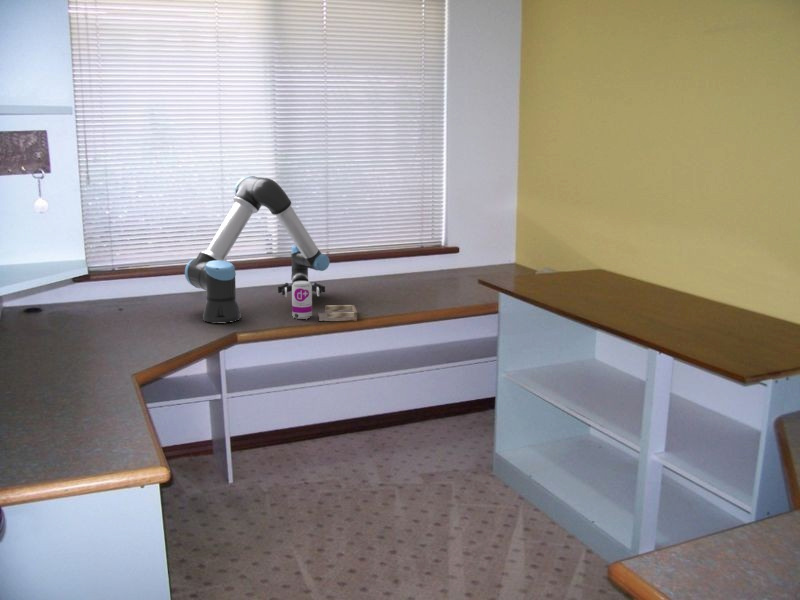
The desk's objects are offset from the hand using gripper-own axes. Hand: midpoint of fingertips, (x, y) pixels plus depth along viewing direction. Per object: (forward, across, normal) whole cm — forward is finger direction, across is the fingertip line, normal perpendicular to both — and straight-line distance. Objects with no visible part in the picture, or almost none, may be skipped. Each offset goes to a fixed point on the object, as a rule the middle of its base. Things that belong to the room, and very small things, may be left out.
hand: (302, 293), depth 319 cm
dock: (+8, -14, -8) cm, 18 cm away
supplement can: (+8, 0, -9) cm, 12 cm away
